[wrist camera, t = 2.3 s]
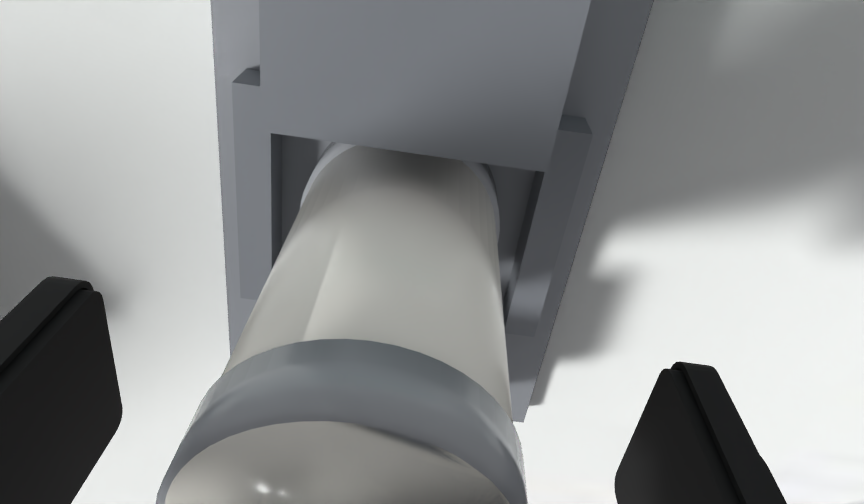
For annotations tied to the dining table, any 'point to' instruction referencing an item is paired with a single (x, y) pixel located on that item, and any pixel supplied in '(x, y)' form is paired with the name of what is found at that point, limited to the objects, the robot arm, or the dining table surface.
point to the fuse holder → (425, 124)
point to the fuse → (368, 351)
